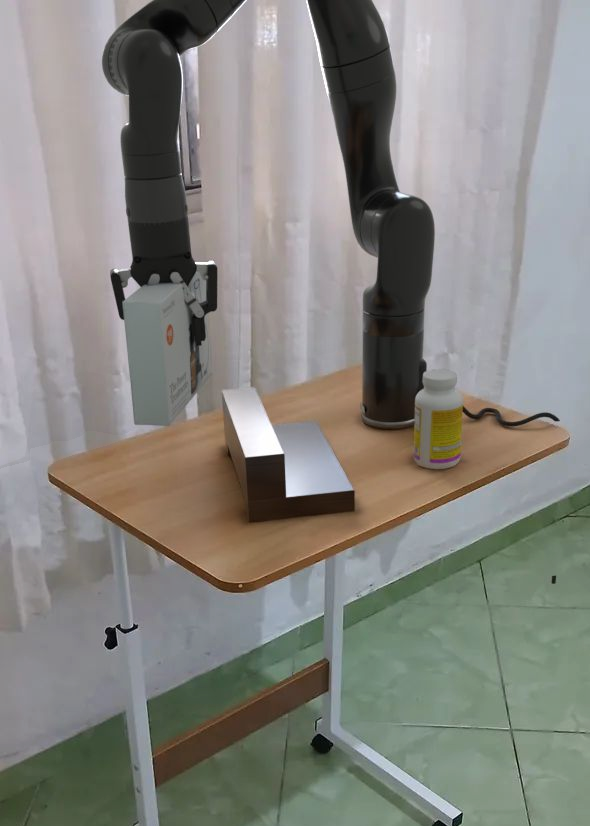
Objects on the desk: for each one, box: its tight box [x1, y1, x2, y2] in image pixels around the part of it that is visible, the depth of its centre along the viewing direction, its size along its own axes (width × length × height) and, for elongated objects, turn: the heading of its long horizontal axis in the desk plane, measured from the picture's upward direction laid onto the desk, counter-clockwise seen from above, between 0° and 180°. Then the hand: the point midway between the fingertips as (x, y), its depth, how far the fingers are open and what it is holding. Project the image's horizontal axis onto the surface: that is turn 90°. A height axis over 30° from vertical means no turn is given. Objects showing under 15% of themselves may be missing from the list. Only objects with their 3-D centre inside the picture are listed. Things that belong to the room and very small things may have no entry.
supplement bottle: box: [413, 368, 464, 470], centre depth 144 cm, size 7×7×13 cm
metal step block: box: [220, 386, 356, 523], centre depth 142 cm, size 14×26×9 cm, turn 10°
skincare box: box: [122, 271, 212, 427], centre depth 137 cm, size 21×6×16 cm, turn 169°
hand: (171, 346), depth 137 cm, fingers closed on skincare box, 6 cm apart
